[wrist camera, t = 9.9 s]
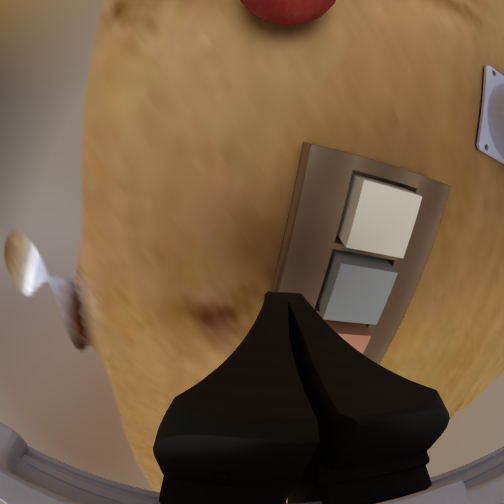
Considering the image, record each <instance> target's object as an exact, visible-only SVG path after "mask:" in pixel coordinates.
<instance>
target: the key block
mask: <svg viewBox="0 0 504 504" xmlns="http://www.w3.org/2000/svg"><path fill="white" fill-rule="evenodd" d="M352 174H356V175H360V176H364V177H368V178H371V179H375V180H379V181H382V182H386V183H389V184H393V185H396V186H399V187H403V188H405V189H407V190H409V191H412V192H414V193H416V194H418V195H420V196H422V200H421V204H420V207H419V211H418V214H417V217H416V221H415V224H414V227H413V231H412V234H411V237H410V240H409V243H408V246H407V249H406V252H405V255H404V257H403V258H398V257H393V256H388V255H383V254H378V253H372V252H367V251H362V250H356V249H351V248H346V247H345V245H344V244H343V243H342V241H341V240H340V238H339V237H338V236H337V232H338V228H339V224H340V220H341V216H342V213H343V209H344V205H345V201H346V197H347V192H348V188H349V184H350V180H351V175H352ZM449 190H450V186H449V185H446V184H444V183H441V182H438V181H436V180H433V179H430V178H428V177H425V176H422V175H419V174H416V173H413V172H410V171H407V170H404V169H401V168H398V167H395V166H392V165H389V164H385V163H382V162H379V161H375V160H372V159H368V158H365V157H361V156H358V155H354V154H350V153H346V152H343V151H339V150H335V149H331V148H326V147H322V146H318V145H313V144H309V143H304V142H303V147H302V152H301V157H300V162H299V167H298V172H297V177H296V182H295V187H294V192H293V197H292V201H291V206H290V211H289V215H288V220H287V225H286V229H285V234H284V239H283V243H282V248H281V252H280V257H279V261H278V266H277V270H276V274H275V279H274V283H273V287H272V292H286V293H301V294H302V295H303V296H304V297H305V299H306V300H307V301H308V302H309V303H310V305H311V306H312V307H313V308H314V309H315V311H316V312H317V313H318V314H319V315H320V316H321V317H322V315H321V312H320V309H319V305H318V302H317V300H318V296H319V293H320V290H321V287H322V284H323V280H324V277H325V274H326V270H327V267H328V264H329V260H330V257H331V253H332V250H333V249H336V250H341V251H347V252H353V253H358V254H363V255H369V256H374V257H380V258H385V259H386V260H387V261H388V262H389V263H390V264H391V265H392V267H393V268H394V269H395V270H396V271H397V272H398V274H397V277H396V279H395V282H394V285H393V287H392V290H391V292H390V295H389V297H388V299H387V302H386V304H385V307H384V309H383V311H382V314H381V316H380V318H379V320H378V323H377V325H374V324H366V326H367V328H368V330H369V332H370V334H371V338H370V340H369V342H368V344H367V346H366V348H365V350H364V352H363V355H365V356H366V357H368V358H369V359H371V360H372V361H374V362H376V363H377V364H380V362H381V361H382V359H383V357H384V355H385V353H386V351H387V349H388V347H389V346H390V344H391V342H392V340H393V338H394V336H395V334H396V332H397V330H398V328H399V326H400V324H401V321H402V319H403V317H404V315H405V313H406V311H407V309H408V306H409V304H410V302H411V300H412V297H413V295H414V293H415V290H416V288H417V285H418V283H419V281H420V278H421V276H422V273H423V271H424V268H425V265H426V263H427V260H428V257H429V255H430V252H431V249H432V246H433V243H434V240H435V237H436V234H437V231H438V228H439V225H440V222H441V218H442V215H443V212H444V208H445V205H446V201H447V198H448V194H449Z"/></svg>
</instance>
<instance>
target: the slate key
mask: <svg viewBox="0 0 504 504" xmlns="http://www.w3.org/2000/svg"><path fill="white" fill-rule="evenodd" d="M397 274H398V272H397V271H396V270H395V269H394V268H393V267H392V265H391V264H390V263H389V262H388V261H387V260H386V259H385V258H380V257H374V256H369V255H363V254H358V253H353V252H347V251H341V250H336V249H333V250H332V253H331V257H330V260H329V264H328V267H327V270H326V274H325V277H324V280H323V284H322V287H321V290H320V293H319V296H318V300H317V302H318V305H319V309H320V312H321V315H322V318H323V319H325V320H334V321H343V322H353V323H363V324H374V325H377V323H378V320H379V318H380V316H381V314H382V311H383V309H384V307H385V304H386V302H387V299H388V297H389V295H390V292H391V290H392V287H393V285H394V282H395V279H396V277H397Z"/></svg>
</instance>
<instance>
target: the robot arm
mask: <svg viewBox="0 0 504 504" xmlns="http://www.w3.org/2000/svg"><path fill="white" fill-rule="evenodd" d="M492 72H493V74H492ZM476 146H477V149H478V150H479V151H481V152H483V153H485V154H486V155H488V156H490V157H492V158H493V159H495V160H497V161H499V162H500V163H502V164H504V76H503V75H502V74H500V73H499V72H498V71H496V70H495V69H494V68H492V67H491V66H489V65H488V66H485V67H484V83H483V97H482V107H481V116H480V123H479V130H478V137H477V143H476ZM485 146H486V148H485ZM449 419H450V418H449V413H448V411H447V409H446V407H445V405H444V403H443V401H442V399H441V397H440V395H439V394H438V392H437V390H434V389H432V388H429V387H426V386H423V385H421V384H418V383H415V382H413V381H410V380H408V379H406V378H403V377H401V376H399V375H397V374H395V373H393V372H391V371H389V370H387V369H386V368H384V367H382V366H380V365H379V364H377V363H376V362H374V361H372V360H371V359H369V358H368V357H366V356H365V355H363V354H362V353H360V352H359V351H358V350H357V349H355V348H354V347H353V346H351V345H350V344H349V343H348V342H346V341H345V340H344V339H343V338H342V337H341V336H340V335H339V334H337V333H336V332H335V331H334V330H333V329H332V328H331V327H330V326H329V325H328V324H327V323H326V322H325V321H324V320H323V318H322V317H321V316H320V315H319V314H318V313H317V312H316V311H315V309H314V308H313V307H312V306H311V305H310V303H309V302H308V301H307V300H306V299H305V297H304V296H303V295H302V294H301V293H286V292H267V293H266V294H265V299H264V303H263V306H262V309H261V311H260V313H259V315H258V317H257V319H256V321H255V323H254V325H253V326H252V328H251V329H250V331H249V333H248V334H247V336H246V337H245V338H244V340H243V341H242V342H241V344H240V345H239V346H238V347H237V349H236V350H235V351H234V352H233V353H232V354H231V355H230V356H229V357H228V358H227V359H226V360H225V361H224V362H223V363H222V364H221V365H220V366H219V367H218V368H217V369H215V370H214V371H213V372H212V373H211V374H209V375H208V376H207V377H206V378H204V379H203V380H202V381H200V382H199V383H198V384H196V385H194V386H193V387H191V388H190V389H188V390H186V391H185V392H183V393H181V394H180V395H178V396H176V397H175V398H174V400H173V401H172V403H171V405H170V406H169V408H168V410H167V411H166V413H165V415H164V417H163V419H162V422H161V424H160V426H159V429H158V432H157V436H156V439H155V443H154V447H153V452H154V456H155V458H156V460H157V462H158V465H159V467H160V469H161V471H162V473H163V475H164V478H163V482H162V487H161V491H160V493H158V492H154V491H149V490H145V489H141V488H137V487H133V486H129V485H126V484H122V483H119V482H115V481H112V480H109V479H106V478H103V477H100V476H97V475H94V474H91V473H88V472H86V471H83V470H80V469H78V468H75V467H73V466H70V465H68V464H66V463H63V462H61V461H58V460H56V459H54V458H52V457H50V456H47V455H45V454H43V453H41V452H39V451H37V450H35V449H33V448H31V447H29V446H27V444H26V442H25V441H24V439H23V438H22V437H21V436H20V435H19V434H18V433H17V432H15V431H14V430H13V429H11V428H10V427H8V426H6V425H5V424H3V423H1V422H0V500H1V501H2V502H4V503H5V504H286V500H287V498H288V504H504V447H502V448H500V449H498V450H496V451H494V452H492V453H491V454H488V455H486V456H484V457H482V458H480V459H478V460H475V461H473V462H471V463H469V464H466V465H464V466H462V467H459V468H457V469H454V470H451V471H449V472H446V473H443V474H441V475H438V476H435V477H432V478H430V477H429V474H428V471H427V468H426V464H428V463H429V460H430V459H429V456H428V454H427V450H428V449H429V448H430V447H431V446H432V445H433V444H434V443H435V441H436V440H437V439H438V438H439V437H440V436H441V434H442V433H443V432H444V430H445V429H446V427H447V425H448V422H449Z"/></svg>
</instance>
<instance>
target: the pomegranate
mask: <svg viewBox="0 0 504 504" xmlns="http://www.w3.org/2000/svg"><path fill="white" fill-rule="evenodd" d="M335 1H336V0H241V2H242V3H243V4H244V5H245V6H246V7H247V9H248V10H249V11H250V12H251V13H252V14H254V15H256V16H258V17H260V18H262V19H264V20H265V21H267V22H273V23H279V24H284V25H289V24H302V23H306V22H309V21H311V20H314V19H316V18H319V17H320V16H322V15H323V14H324V13H325V12H326V11H327V10H328V9H329V8H330V7H331V6H332V5H333V4H334V3H335Z"/></svg>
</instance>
